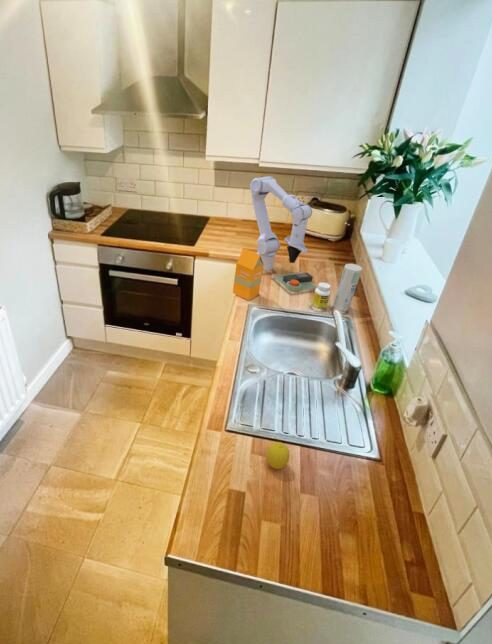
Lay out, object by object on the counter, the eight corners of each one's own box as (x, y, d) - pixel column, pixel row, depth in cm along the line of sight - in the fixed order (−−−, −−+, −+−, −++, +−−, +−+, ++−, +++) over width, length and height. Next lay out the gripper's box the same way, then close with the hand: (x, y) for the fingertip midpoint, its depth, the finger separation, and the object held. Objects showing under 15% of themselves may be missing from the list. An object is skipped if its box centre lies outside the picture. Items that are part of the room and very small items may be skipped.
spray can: (344, 316, 164) (358, 272, 153) (329, 310, 167) (342, 266, 156) (350, 310, 168) (364, 267, 157) (335, 304, 171) (348, 262, 160)
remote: (287, 284, 182) (288, 279, 180) (282, 280, 185) (283, 275, 184) (311, 281, 186) (313, 276, 184) (306, 277, 189) (307, 272, 188)
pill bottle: (318, 313, 165) (324, 289, 159) (307, 306, 169) (313, 283, 163) (328, 310, 167) (335, 286, 161) (318, 303, 172) (324, 280, 166)
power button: (288, 283, 179) (289, 279, 178) (295, 282, 180) (295, 278, 179) (292, 287, 176) (293, 283, 175) (299, 286, 178) (300, 282, 177)
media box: (271, 278, 189) (272, 272, 187) (297, 275, 194) (298, 268, 192) (290, 295, 177) (291, 288, 175) (317, 291, 181) (319, 284, 179)
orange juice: (243, 287, 181) (249, 246, 170) (258, 294, 176) (266, 252, 165) (232, 292, 176) (237, 250, 165) (248, 300, 171) (255, 257, 160)
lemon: (261, 457, 104) (266, 436, 99) (282, 456, 104) (288, 435, 100) (267, 475, 99) (272, 455, 95) (288, 474, 99) (295, 454, 95)
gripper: (315, 238, 169) (309, 267, 176) (296, 227, 181) (290, 255, 188) (301, 240, 167) (295, 269, 174) (282, 228, 179) (277, 256, 186)
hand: (292, 262), depth 181 cm, fingers closed
